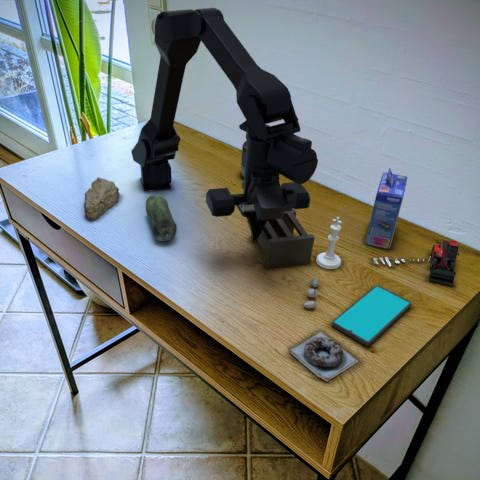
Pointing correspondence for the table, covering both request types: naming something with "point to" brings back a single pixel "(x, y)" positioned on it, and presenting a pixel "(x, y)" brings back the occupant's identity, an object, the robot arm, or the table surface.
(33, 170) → the table surface
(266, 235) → the rack
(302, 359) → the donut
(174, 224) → the vegetable
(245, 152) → the pill bottle
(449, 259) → the loader
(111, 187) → the stone
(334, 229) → the chess piece
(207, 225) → the table surface
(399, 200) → the ink cartridge box
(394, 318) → the smartphone
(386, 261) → the miniature set
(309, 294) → the game pieces
